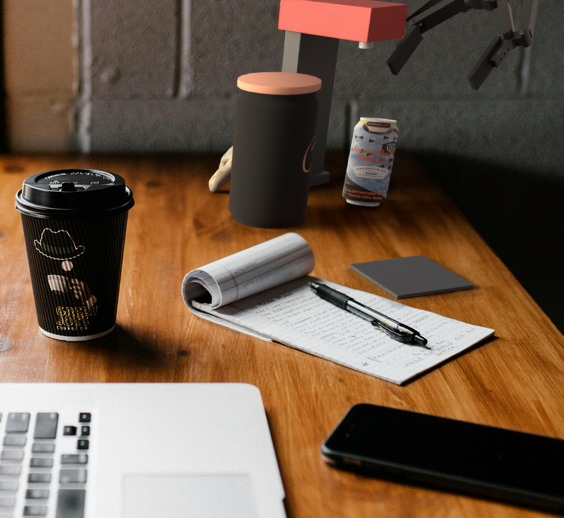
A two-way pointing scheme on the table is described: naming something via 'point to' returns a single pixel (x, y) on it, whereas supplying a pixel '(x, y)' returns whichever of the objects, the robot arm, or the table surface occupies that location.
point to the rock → (222, 172)
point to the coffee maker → (332, 47)
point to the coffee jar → (273, 148)
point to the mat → (410, 276)
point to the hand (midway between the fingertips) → (430, 76)
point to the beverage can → (370, 161)
